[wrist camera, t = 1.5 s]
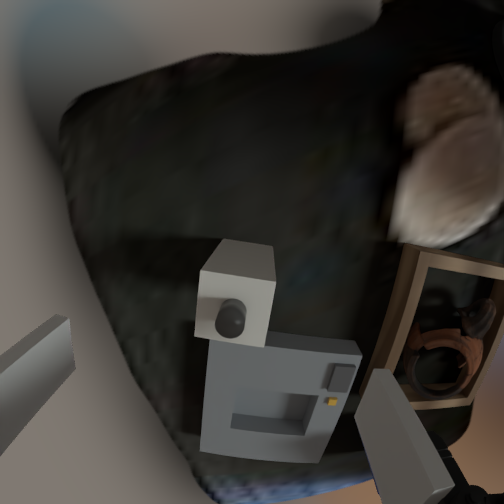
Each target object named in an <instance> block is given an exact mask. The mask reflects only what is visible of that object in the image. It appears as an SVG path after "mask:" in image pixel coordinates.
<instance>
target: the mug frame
mask: <svg viewBox="0 0 504 504" xmlns="http://www.w3.org/2000/svg"><path fill="white" fill-rule="evenodd" d="M428 267H434V268H439V269H445V270H451V271H456V272H462V273H468V274H473V275H479V276H484V277H490V278H495V280H494V284H493V287H492V291H491V294H490V297H489V298H490V299H491V300H493V302H494V304H495V307H496V315H495V316H494V320H493V322H492V324H491V326H490V329H489V330H488V331H487V332H486V333H485V335H484V336H483V338H482V340H483V353H482V359H481V362H480V365H479V367H478V369H477V371H476V372H475V374H474V375H473V376H472V378H471V380H470V382H469V383H468V384H467V385H466V387H465V388H463V389H462V391H461V392H459V393H458V394H456V395H454V396H452V397H450V398H447V399H443V400H432V399H427V398H424V397H422V396H420V395H419V394H417V393H416V392H415V391H414V390H413V389H412V388H411V386H410V384H399V386H400V388H401V389H402V391H403V393H404V394H405V396H406V398H407V399H408V401H409V403H410V404H411V406H412V408H413V410H423V409H436V408H446V407H456V406H464V405H470V404H471V402H472V400H473V398H474V397H475V395H476V393H477V391H478V389H479V387H480V385H481V383H482V381H483V379H484V377H485V375H486V373H487V371H488V369H489V367H490V364H491V362H492V360H493V358H494V355H495V353H496V351H497V348H498V346H499V344H500V341H501V339H502V336H503V333H504V264H502V263H497V262H493V261H488V260H484V259H479V258H475V257H470V256H466V255H461V254H456V253H452V252H447V251H442V250H437V249H432V248H427V247H422V246H417V245H412V244H407V243H404V246H403V250H402V255H401V259H400V263H399V267H398V271H397V275H396V279H395V283H394V287H393V291H392V294H391V298H390V301H389V305H388V308H387V312H386V315H385V318H384V321H383V325H382V328H381V331H380V334H379V337H378V340H377V343H376V346H375V349H374V352H373V355H372V358H371V360H370V363H369V366H368V369H367V371H366V374H365V377H364V379H363V382H362V384H361V387H360V390H359V394H360V397H361V399H362V397H363V395H364V392H365V390H366V387H367V385H368V382H369V380H370V377H371V374H372V372H373V369H390V371H391V373H392V374H393V372H394V370H395V367H396V365H397V362H398V360H399V357H400V355H401V352H402V349H403V347H404V344H405V341H406V338H407V335H408V332H409V330H410V327H411V324H412V321H413V318H414V314H415V311H416V308H417V305H418V302H419V298H420V295H421V291H422V288H423V284H424V281H425V277H426V273H427V269H428ZM466 371H467V363H466V364H465V365H464V366H463V368H462V370H461V372H460V374H459V376H458V378H457V381H456V383H438V384H422V385H423V386H425V387H427V388H429V389H433V390H443V389H447V388H449V387H452V386H454V385H456V384H458V383H459V381H460V380H461V379H462V378H463V377H464V375H465V373H466Z"/></svg>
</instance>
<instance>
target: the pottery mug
mask: <svg viewBox="0 0 504 504" xmlns="http://www.w3.org/2000/svg"><path fill="white" fill-rule="evenodd" d="M457 312H458V313H459V314H460V316H461V318H462V327H463V330H464V332H465V333H466V334H467V336H461V335H460V329H447V328H444V329H439V330H432V331H428V332H425V333H423V334H421V332H420V324H419V323H418V322H416V323H415V324H414V325H413V326H412V327H411V328H410V330H409V332H408V335H407V341H406V342H405V344H404V350H403V366H404V370H405V373H406V375H407V379H408V381H409V384H410V386H411V388H412V389H413V390H414V391H415V392H416V393H417V394H419V395H420V396H422V397H424V398H427V399H432V400H443V399H447V398H450V397H452V396H454V395H456V394H458V393H459V392H461V391H462V389H463V388H465V387H466V385H467V384H468V383H469V382H470V380H471V378H472V376H473V375H474V374H475V372H476V371H477V369H478V367H479V365H480V362H481V359H482V353H483V340H482V338H483V336H484V335H485V333H486V332H487V331H488V330H489V329H490V326H491V324H492V322H493V320H494V316H495V315H496V307H495V304H494V302H493V300H491V299H490V298H487V299H486V298H482V299H479V300H477V301H475V302H474V303H473V304H471V305H470V306H468V307H464V308H458V309H457ZM422 346H425V348H426V349H427V350H429V349H433V348H436V347H440V346H445V347H451V348H454V349H456V350H459V351H460V353H459V354H458V355H457V356H456V358H457V361H458V368H461V367H462V366H464V365H465V364H466V363H467V371H466V373H465V375H464V377H463V378H462V379H461V380H460V381H459V383H458V384H456V385H454V386H452V387H449V388H447V389H443V390H433V389H429V388H427V387H425V386H423V385H422V384H421V383H420V382H419V381H418V380H417V378H416V376H415V365H416V362H417V360H418V358H419V357H420V355H419V353H418V350H419V349H420V348H421V347H422Z"/></svg>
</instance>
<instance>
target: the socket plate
mask: <svg viewBox="0 0 504 504" xmlns="http://www.w3.org/2000/svg"><path fill="white" fill-rule="evenodd" d="M361 359H362V354H361V352H360V350H359V348H358V346H357V344H356V342H355V341H353V340H342V339H332V338H323V337H313V336H305V335H297V334H289V333H281V332H273V331H267V334H266V339H265V345H264V348H263V347H256V346H249V345H242V344H236V343H229V342H223V341H217V340H212V339H210V342H209V352H208V362H207V372H206V383H205V394H204V405H203V417H202V429H201V442H200V451H203V452H208V453H214V454H220V455H227V456H234V457H241V458H249V459H258V460H269V461H281V462H298V463H319V461H320V459H321V457H322V455H323V452H324V450H325V448H326V446H327V444H328V442H329V439H330V437H331V435H332V433H333V430H334V428H335V426H336V424H337V421H338V419H339V417H340V414H341V412H342V409H343V407H344V404H345V402H346V399H347V397H348V394H349V392H350V389H351V386H352V384H353V381H354V378H355V376H356V373H357V370H358V367H359V365H360V362H361Z"/></svg>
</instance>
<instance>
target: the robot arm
mask: <svg viewBox="0 0 504 504" xmlns="http://www.w3.org/2000/svg"><path fill="white" fill-rule="evenodd" d="M492 47H493V53H494V57H495V61H496V64H497V67H498V70H499V72H500V75H501V77H502V79H503V81H504V19H503V20H501V21H499V22H498V23H497V24H496V25H495V26H494V29H493V32H492ZM75 369H76V367H75V361H74V354H73V348H72V339H71V332H70V321H69V318H67V317H63V316H60V315H57V314H56V315H54V316H53V317H51V318H50V319H49V320H47V321H46V322H45V323H43V324H42V325H40V326H39V327H38V328H36V329H35V330H34V331H32V332H31V333H30V334H28V335H27V336H26V337H24V338H23V339H22V340H20V341H19V342H18V343H16V344H15V345H14V346H12V347H11V348H10V349H9V350H7V351H6V352H5V353H3V354H2V355H1V356H0V456H1V455H2V454H3V452H4V451H5V450H6V449H7V447H8V446H9V445H10V444H11V443H12V441H13V440H14V439H15V438H16V437H17V435H18V434H19V433H20V432H21V431H22V429H23V428H24V427H25V426H26V425H27V424H28V422H29V421H30V420H31V419H32V418H33V417H34V415H35V414H36V413H37V412H38V411H39V409H40V408H41V407H42V406H43V405H44V404H45V403H46V401H47V400H48V399H49V398H50V397H51V396H52V395H53V394H54V392H55V391H56V390H57V389H58V388H59V387H60V386H61V384H63V382H64V381H65V380H66V379H67V378H68V377H69V376H70V375H71V373H72V372H73V371H74V370H75ZM354 418H355V421H356V424H357V427H358V430H359V433H360V436H361V439H362V441H363V444H364V448H365V451H366V454H367V457H368V460H369V463H370V466H371V469H372V472H373V475H374V478H375V481H376V485H377V488H378V491H379V494H380V497H381V501H382V504H504V493H502V494H487V492H486V491H485V490H484V489H483V488H481V487H479V486H476V485H469V484H468V482H467V481H466V479H465V477H464V475H463V473H462V472H461V470H460V468H459V466H458V465H457V463H456V461H455V460H454V458H452V454H451V452H450V451H449V450H448V447H447V446H446V444H445V442H444V440H443V439H442V438H441V437H440V436H439V435H438V434H436V433H435V432H434V431H427V432H426V430H425V429H424V427H423V425H422V423H421V422H420V420H419V418H418V416H417V415H416V413H415V411H414V410H413V408H412V406H411V404H410V403H409V401H408V399H407V398H406V396H405V394H404V393H403V391H402V389H401V388H400V386H399V384H398V383H397V381H396V379H395V378H394V376H393V374H392V373H391V371H390V369H373V372H372V374H371V377H370V380H369V382H368V385H367V387H366V390H365V392H364V395H363V397H362V399H361V402H360V404H359V406H358V409H357V411H356V413H355V416H354Z"/></svg>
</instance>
